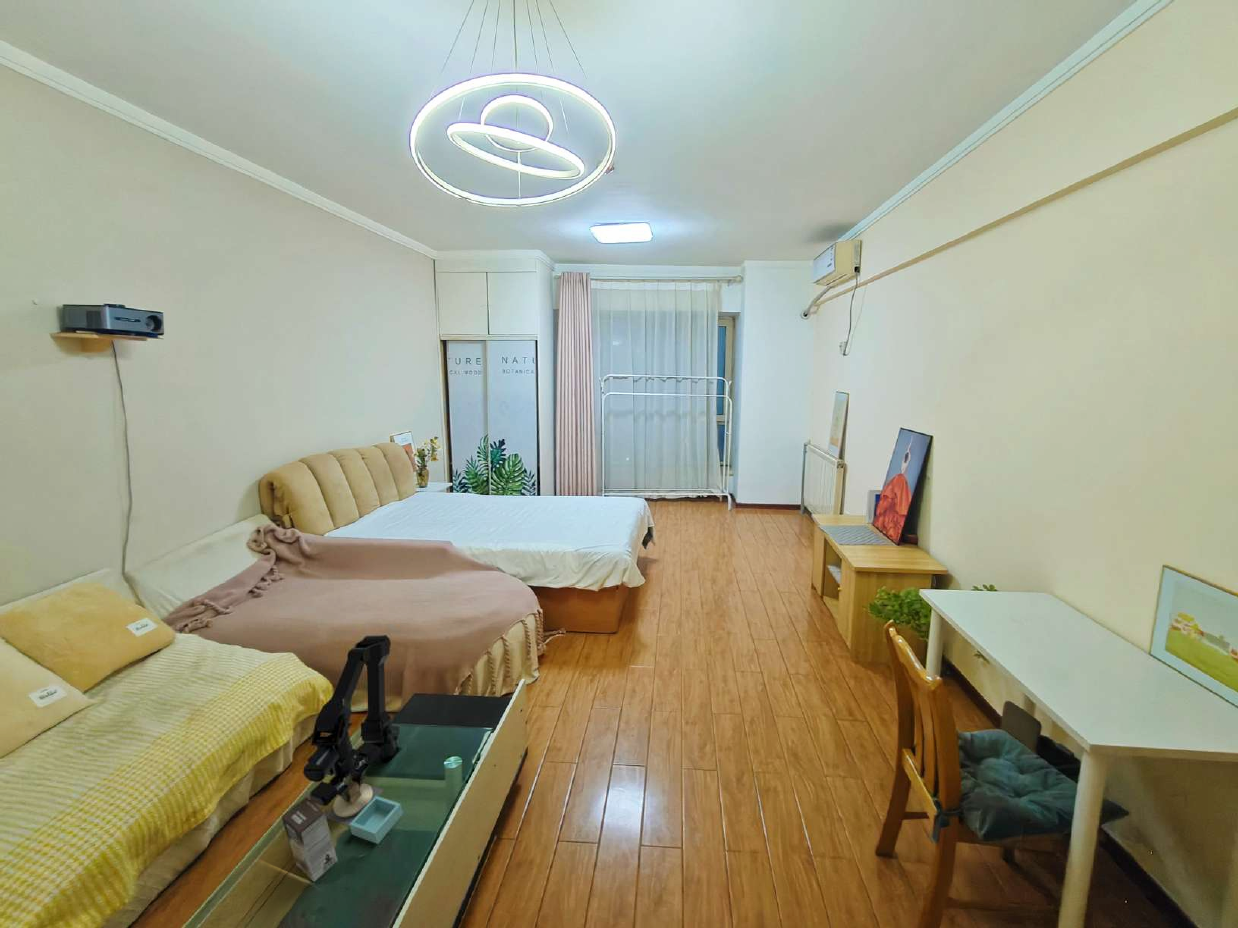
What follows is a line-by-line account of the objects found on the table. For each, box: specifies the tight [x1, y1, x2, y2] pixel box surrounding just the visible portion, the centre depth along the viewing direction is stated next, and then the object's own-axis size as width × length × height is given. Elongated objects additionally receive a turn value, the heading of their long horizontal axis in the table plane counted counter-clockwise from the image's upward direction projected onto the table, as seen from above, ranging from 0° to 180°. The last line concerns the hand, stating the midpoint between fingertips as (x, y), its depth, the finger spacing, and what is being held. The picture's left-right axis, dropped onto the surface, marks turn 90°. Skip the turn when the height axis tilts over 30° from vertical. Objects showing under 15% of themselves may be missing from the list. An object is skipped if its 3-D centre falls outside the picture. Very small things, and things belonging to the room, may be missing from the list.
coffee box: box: [281, 796, 338, 882], centre depth 128 cm, size 9×6×16 cm
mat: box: [325, 785, 385, 828], centre depth 146 cm, size 12×10×1 cm
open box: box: [349, 796, 404, 845], centre depth 139 cm, size 9×9×4 cm
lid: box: [332, 779, 373, 817], centre depth 145 cm, size 10×10×5 cm
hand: (352, 796), depth 146 cm, fingers closed on lid, 3 cm apart
